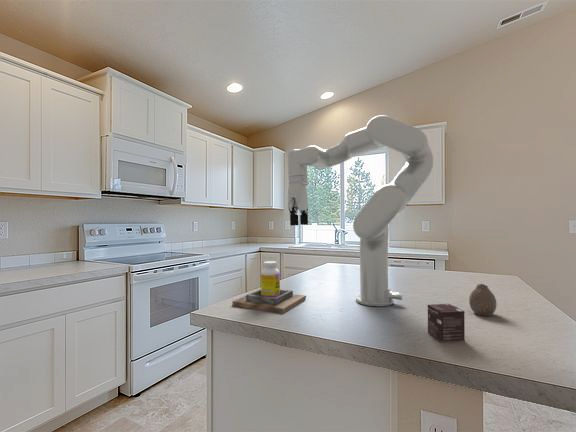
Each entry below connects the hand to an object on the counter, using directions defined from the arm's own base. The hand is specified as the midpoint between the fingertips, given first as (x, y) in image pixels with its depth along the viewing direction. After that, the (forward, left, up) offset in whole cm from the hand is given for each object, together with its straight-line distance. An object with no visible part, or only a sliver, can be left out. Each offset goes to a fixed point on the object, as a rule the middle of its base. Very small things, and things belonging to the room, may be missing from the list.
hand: (299, 224), depth 118 cm
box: (-50, +24, -27) cm, 62 cm away
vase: (-60, 0, -27) cm, 66 cm away
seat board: (+5, +16, -27) cm, 32 cm away
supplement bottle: (+5, +15, -26) cm, 30 cm away
